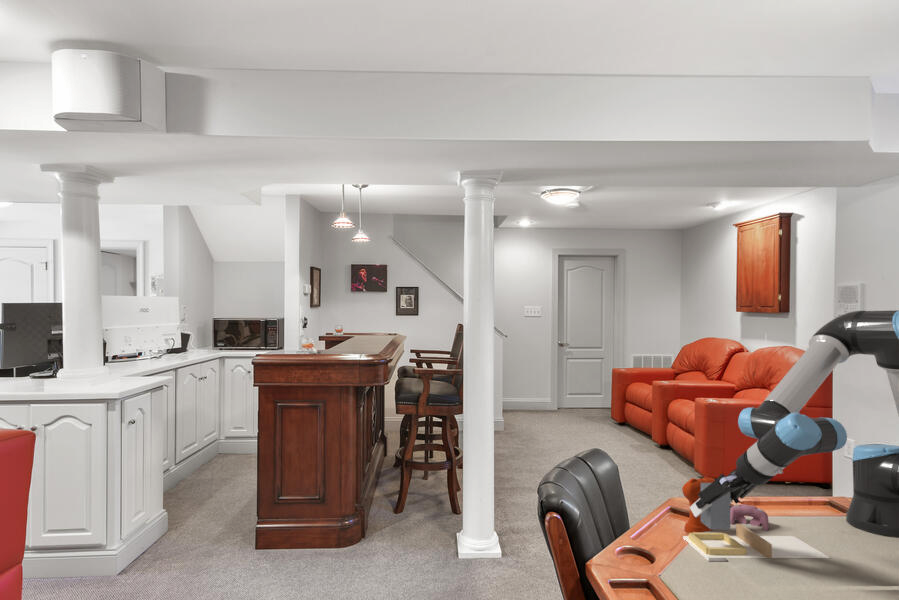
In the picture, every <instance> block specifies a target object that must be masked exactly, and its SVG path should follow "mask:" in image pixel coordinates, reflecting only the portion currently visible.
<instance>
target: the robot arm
mask: <svg viewBox="0 0 899 600" xmlns="http://www.w3.org/2000/svg"><path fill="white" fill-rule="evenodd" d="M854 355H869V356H874V358H875V361H876V364H877V366H878V368H880V369H883V370H885V371H886V375H887V379H888V382H889V385H890V386H889V387H890V389H891V393H892V396H893V397H892V398H893V401H894V403H895V404H894V405H895V408H896V411H897V415H898V416H899V310H856V311H850V312H846V313H844V314H841V315H839V316H837V317H835V318H833V319H832V320H830V321H828V322H827V323H825V324H824V325H823V326H822V327H820V328H819V329H818V330H817V331H816V332H815V333H814V334H813V335H812V337H810V339H809V341H808V348H807V349H806V350H805V351H804V352H803V354H802V355H801V356H800V358H798V360H797V361H796V362H795V364H793V366H791V368H790V369H789V371H787V373H786V374H785V375H784V377H783V378H782V379H781V380H780V381H779V383H778V384H777V385H776V386H775V387H774V388H773V389H772V391H771V392H770V393H769V394H768V396H766V398H765V399H764V400H763V402H761V404H760V405H759V406H758V407H753V406H752V407H746V408H743V409H742V410H741V411H740V413H739V416H738V420H737V425H738V428H739V430H740V432H741V433H742V434H743V435H745V436H746V437H749V438H751V439H752V438H753V439H757V440H756V442H754V443H753V444H752V445H751V446H749V447H748V449H747V450H746V451H744V452H743V453H742V454H741V455H740V456H738V457H737V459H736V461H735V463H736V465H735V466H736V468H735V469H733V470H732V471H730V473H729V474H727V475H725V474H724V473H722V474H720V475H719V476H718V477H717V479H716V480H715V481H714V482H713V483H711V484H710V485H709V486H708V487H706V488H705V489H704V490H703V491H701V492H700V493H699V494H698V496H699V497H700V498H699V499H698V500H697V501H696V502H695V503H694V504H692V505H691V506H690V505H689V507H688V508H689V510H690V509H691V511H692V513H693V514H694V516H695V517H698V516H699V515H700V514H702V513H703V512H704V511H705V510H706V509H708V508H709V507H710V506H711V505H712V502H714V501H716V500H717V499H719V498H720V497H722V496H723V495H725V494H727V493H728V492H730V505H731V504H732V503H733V502H734V503H735V504H739V503H740V500H739V499H744V498H745V497H746V496H747V495H748V494H750V493H751V492H753V490H755V489H756V488H757V487H758V486H764V485H766V484H767V483H769V481H771V480H772V479H773V478H774V477H775V476H776V475H778V474H779V475H781V474H783V473H784V471H783V470H784V469H785V468H787V467H788V466H790V464H792V463H794V462H795V461H796V460H797V459H799V458H800V457H804V456H808V455H815V454H822V453H832V452H834V451H838V450H840V449H842V448H843V447H845V445H846V444H847V441H848V433H847V430H846V428H845V427H844V426H843V424H842V423H841V422H840V421H838V420H837V419H834V418H831V417H823V416H822V417H821V416H820V417H816V418H815V417H809V416H808V415H805V414H802V413H800V412H801V410H802V409H803V407H805V405H806V404H807V403H808V401H809V400H810V399H811V398H812V397H813V395H814V394H815V393H816V392H817V390H818V389H819V388H820V386H821V385H822V384H823V383H824V382H825V380H826V379H827V378H828V377H829V375H830V374H831V373H832V372H833V370H834V369H835V368H836V367H837V365H838V364H842V363H845V362H846V361H847V360H848V359H849V358H850V357H852V356H854ZM851 461H852V483H853V484H852V485H853V487H852V488H853V492H852V493H853V494H852V495H853V496H852V498H851V501H850V504H849V506H848V509H847V511H846V513H845V514H846V516H845V517H846V520H845V521H846V522H847V524H850V525H851V526H853V527H854V528H856V529H859V530H862V531H865V532H868V533H873V534H877V535H881V536H888V537H893V536H894V537H896V538H899V445H895V444H881V443H880V444H874V443H872V444H871V443H870V444H859V445H855V447H854V448H853V450H852V459H851Z"/></svg>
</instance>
